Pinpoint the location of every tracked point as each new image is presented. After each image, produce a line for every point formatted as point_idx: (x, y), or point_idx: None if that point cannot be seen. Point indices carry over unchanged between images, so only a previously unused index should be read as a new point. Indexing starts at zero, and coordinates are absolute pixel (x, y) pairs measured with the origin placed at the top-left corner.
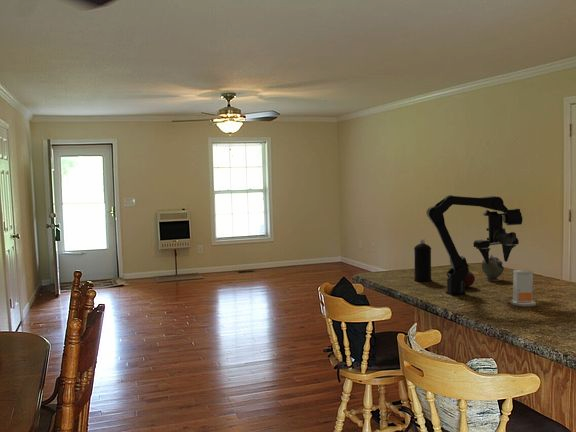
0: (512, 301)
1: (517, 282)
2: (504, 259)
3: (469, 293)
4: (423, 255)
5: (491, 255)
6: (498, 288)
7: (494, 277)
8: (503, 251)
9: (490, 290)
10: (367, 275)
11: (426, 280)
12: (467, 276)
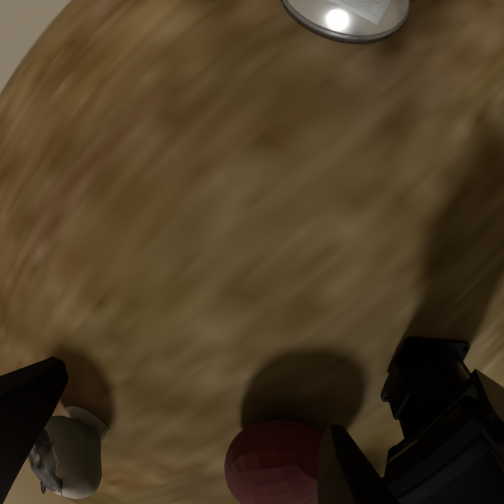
0: (403, 12)
1: None
2: (59, 395)
3: (376, 343)
4: None
5: (43, 489)
6: (152, 338)
7: (83, 423)
8: (13, 467)
9: (222, 334)
10: None
11: None
12: (304, 455)
